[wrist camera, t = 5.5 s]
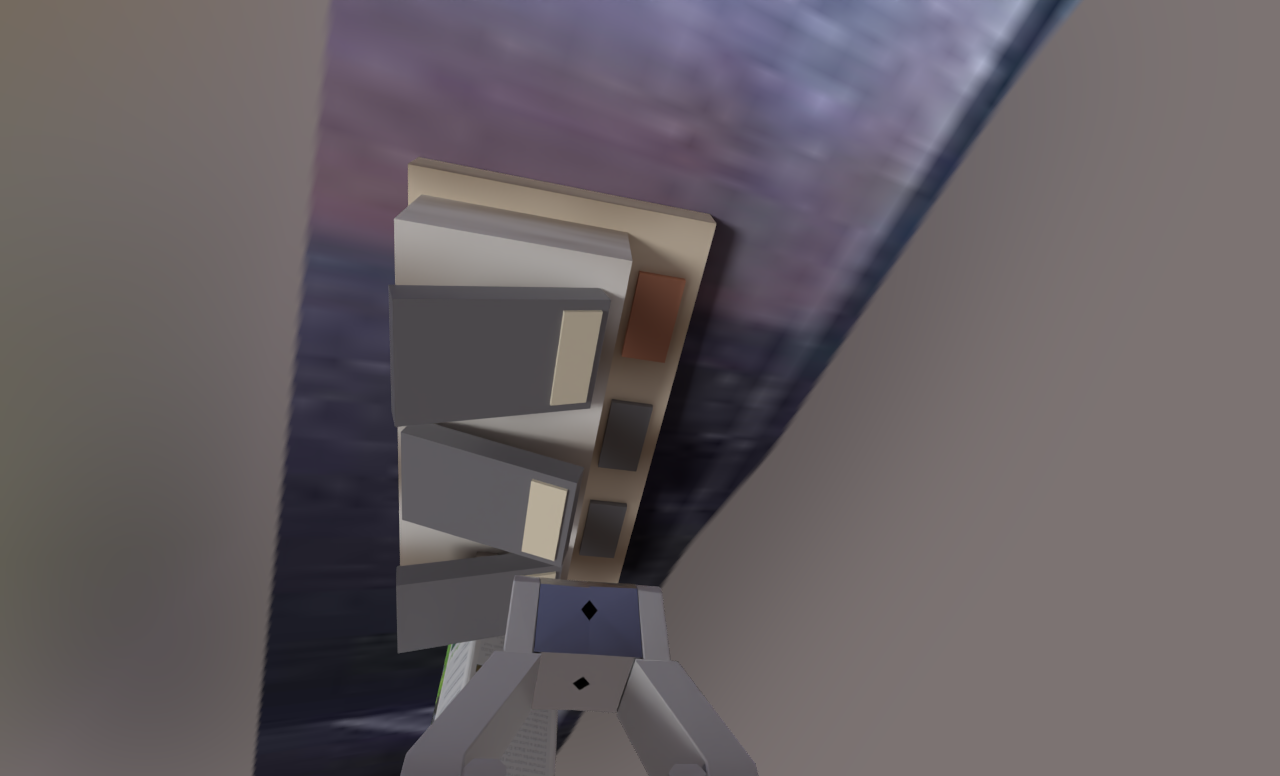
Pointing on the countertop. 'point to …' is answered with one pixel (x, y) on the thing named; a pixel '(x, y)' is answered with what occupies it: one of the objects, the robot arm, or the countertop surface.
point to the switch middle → (488, 492)
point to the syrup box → (537, 736)
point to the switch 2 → (459, 598)
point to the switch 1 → (492, 350)
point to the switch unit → (632, 347)
